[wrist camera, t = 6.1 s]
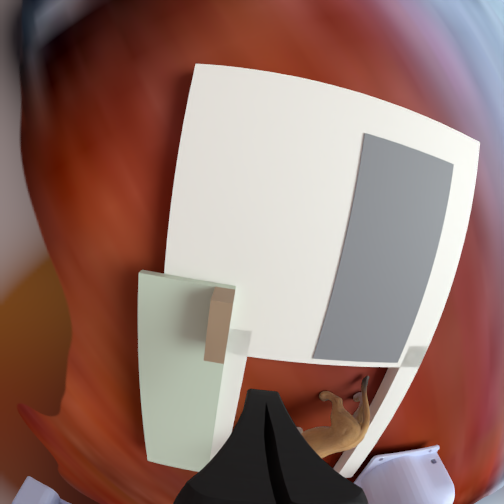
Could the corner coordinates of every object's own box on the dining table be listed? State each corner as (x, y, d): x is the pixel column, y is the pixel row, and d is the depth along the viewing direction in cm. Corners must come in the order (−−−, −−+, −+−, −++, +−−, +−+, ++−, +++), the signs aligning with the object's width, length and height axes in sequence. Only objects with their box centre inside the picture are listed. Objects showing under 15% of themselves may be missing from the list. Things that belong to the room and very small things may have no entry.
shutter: (235, 286, 18) (233, 303, 16) (208, 468, 23) (205, 488, 21) (142, 269, 18) (126, 283, 15) (149, 456, 23) (143, 475, 20)
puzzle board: (468, 143, 17) (480, 142, 15) (342, 476, 26) (345, 486, 24) (200, 71, 16) (195, 63, 15) (167, 463, 25) (164, 473, 24)
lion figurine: (279, 452, 24) (284, 511, 17) (247, 435, 24) (245, 498, 16) (379, 383, 22) (410, 442, 15) (351, 359, 21) (381, 423, 14)
